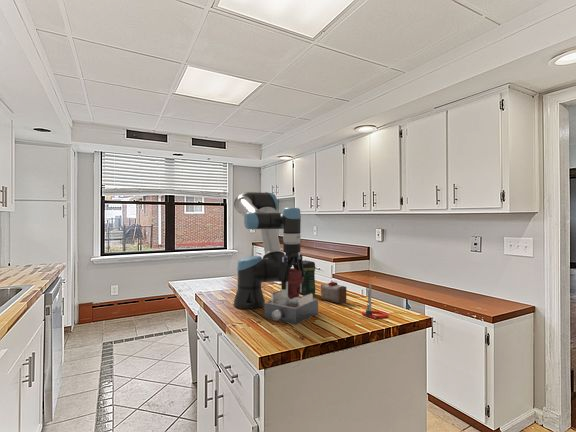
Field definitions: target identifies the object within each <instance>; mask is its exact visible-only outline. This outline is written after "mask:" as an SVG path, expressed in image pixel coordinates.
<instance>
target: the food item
mask: <svg viewBox="0 0 576 432" xmlns="http://www.w3.org/2000/svg"><path fill="white" fill-rule="evenodd" d="M320 295H321V300H322V301H326V302H327V301H329V302H331V303H335V304H340V305H341V304H345V303H347V286H345V285H340V284H338V282H337V281H332V282H331V281H330V282H328V283H326V282H325V283H321V284H320Z"/></svg>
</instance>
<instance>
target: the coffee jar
mask: <svg viewBox="0 0 576 432" xmlns="http://www.w3.org/2000/svg"><path fill="white" fill-rule="evenodd" d="M303 266H304V273H305V275H304V277H303V283H302V292H301V293H300V294H301V295H303V296H305V295H308V294H313V295H315V294H316V280H315V279H316V277H315V275H316V274H315V273H316V272H315V271H316V262H315V261H312V260H311V261H310V260H306V259H305V260H304V259H303ZM300 294H299V295H300Z"/></svg>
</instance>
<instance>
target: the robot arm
mask: <svg viewBox="0 0 576 432" xmlns="http://www.w3.org/2000/svg"><path fill="white" fill-rule="evenodd" d="M278 204H279V203H278V198H277V196H276V195H275V194H274V193H273V192H266V191H265V192H259V191H257V192H256V191H255V192H254V191H245V192H243V193H240V194H238V195H237V196H236V198H235V199H234V202H233V206H234V209H235V210H236V212H237V213H239V214H241V215H242V216H243V218H244V219H243V220H244V223H243V224H244V227H245V229H246V230H260V232H261V238H262V246H263V250H264V251H263V252H264V255H263V256H261V255H251V256H246V257H242V258H240V259H239V260H238V262H237V266H236V267H237V269H236V271H237V289H236V294H235V297H234V299H233V306H234V307H235V308H238V309H242V310H243V309H245V310H249V309H250V310H251V309H252V310H253V309H258V308H262V307H265V303H266V300H265V299H266V298H265V297H264V293H263V289H262V283H274V282H275V283H276V282H278V283H279V282H280V281H281V282H280V283H281V290H282V297H288V282H287V278H288V275H289V272H290V268H292V267H293V268H295V269H297V270H300V271H301V272H302V278H303V277H304V275H305V273H304V266H303V261H304V259H303V254H300V252H302V251H301V250H302V249H301V230H302V229H301V227H302V226H301V225H302V224H301V222H302V220H301V219H302V216H301V209H300V208H299V207H284V208H283V212H277V211H278V209H279V208H278V207H279V205H278ZM278 230H283V233H282V234H283V237H282V238H283V239H282V242H283V245H282V249H281V245H280V240H279V233H278ZM282 250H283V251H282ZM301 292H302V283H301V284H300V293H301Z"/></svg>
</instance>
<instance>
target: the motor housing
mask: <svg viewBox="0 0 576 432" xmlns="http://www.w3.org/2000/svg"><path fill="white" fill-rule="evenodd" d="M270 295H271V297H270V299H271V300H268V301H265V305H264V318H265V319H268V320H272V321H273V320H274V321H275V322H278V321H279V322H283V323H286V324H290V325H291V324H292V325H294V326H295V325H296V326H297V325H298V324H301V323H303V322H305V321H307V320H308V319H312V318H313V317H314V316H317V315H319V299H317V298H314V294H308V295H303V296H300V295H299V297H295V298H293V299H289V297H282V289H281V290H278V291H275V292H272V293H270Z"/></svg>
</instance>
